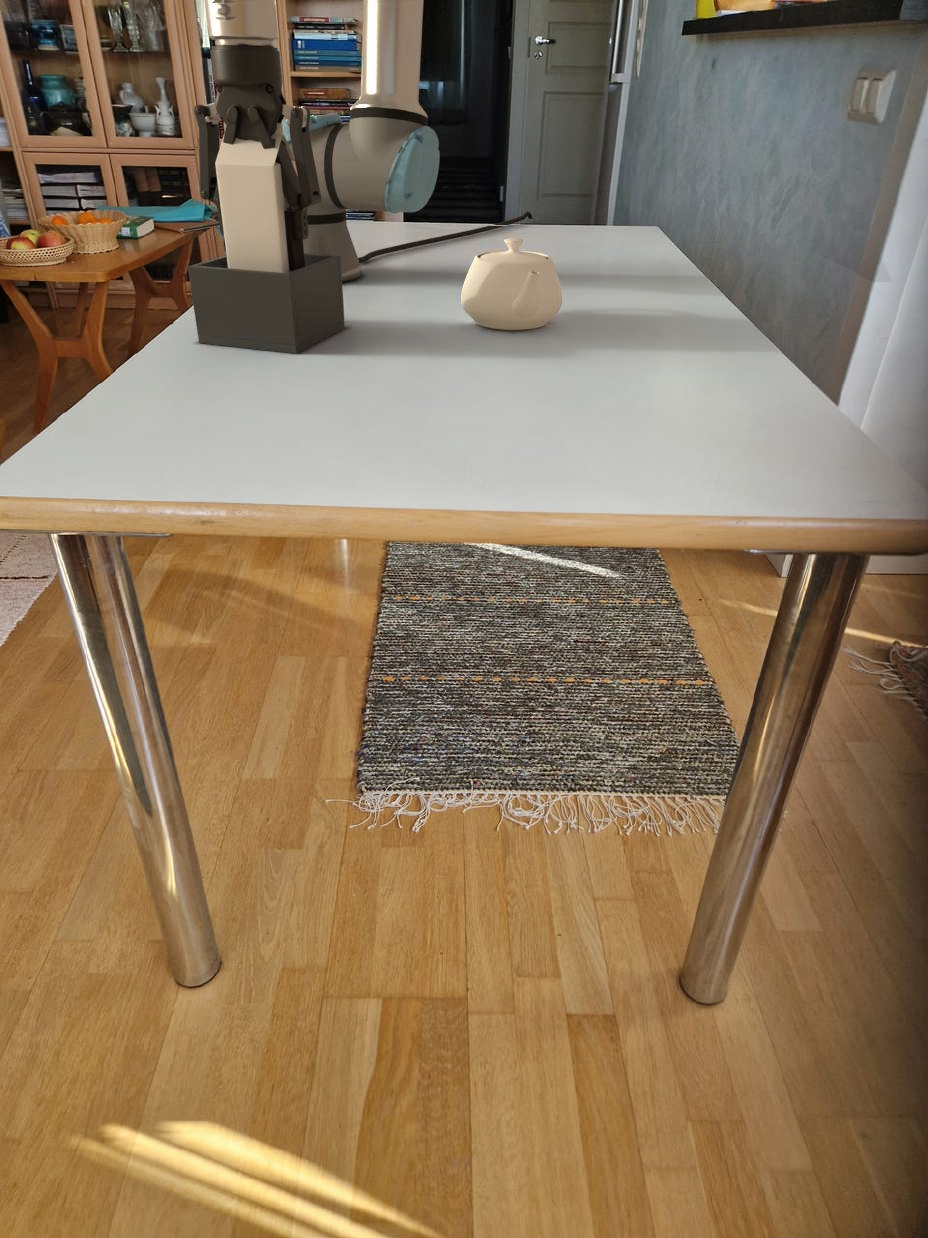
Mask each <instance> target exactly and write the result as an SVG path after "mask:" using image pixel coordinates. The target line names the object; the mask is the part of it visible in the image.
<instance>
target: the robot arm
mask: <svg viewBox="0 0 928 1238" xmlns="http://www.w3.org/2000/svg"><path fill="white" fill-rule="evenodd" d="M204 8H205V14H206V15H205V16H206V23H207V24H206V25H207V32H208V37H209V38H210V39H211V40H212V41H213V40H214V44H215V45H212V46H211V49H209V50H210V59H211V60H210V61H211V68H212V76H213V83H214V84H215V86H216V96H215V100H214V102H212V103H208V104H195V105H194V107H193V114H194V116H195V120H196V123H197V127H198V155H199V156H198V158H199V160H198V161H199V164H198V165H199V195H200V198H201V199H202V200H205V201H209V202H211V203H213V204H214V205H215V207H216V211H217V217H218V218H217V219H218V225H219V226H218V227H219V231H220V234H221V235H222V236H224V229H223V221H222V213H221V205H220V197H219V189H218V181H217V173H216V165H215V162H216V159H217V156H218V153H219V149H220V126H219V125H220V124H219V123H220V122H221V120H222V122H223V123H224V122H225V124H226V129H225V131H224V133H225V134H224V133H223V136H224V139H223V138H222V139H223V143H227V144H231V145H232V144H233V143H234V142H235V140H236V138H238V139H241V140H249V139H251V140H253V141H256V142H261V144H262V146H263V148H264V149H268V148H275V142H276V139H272V138H271V137H272V136H273V135H274V133H275V131H276V129H277V123H282V125H283V134H284V136H285V138H286V141H287V143H288V145H289V147H290V149H291V151H292V153H293V155H294V159H295V164H296V169H297V174H296V171H295V169H294V166H293V164H292V161H291V159H290V156H289V154H288V151H287V149H286V143H285V142H284V141H283V140H281V143H280V146H279V150H278V153H277V157H276V160H275V162H276V163H279V164H280V166H281V177H282V189H283V192H284V194H285V197H286V199H287V202H288V204H289V208H287V209H288V211H284V217H285V228H286V240H287V251H288V262H289V270H292V271H294V270H297V269H300V268H303V267H305V260H304V253H309V254H322V255H335V256H341V272H342V283H344V282H349V281H353V280H356V279H358V278H359V277H360V276H361V264H364V263H366V262H368V261H370V260H371V259H373V258H375V257H379V256H383V255H386V254H390V253H395V252H399V251H404V250H408V249H413V248H417V247H420V246H426V245H432V244H435V243H440V242H445V241H449V240H454V239H459V238H463V237H469V236H473V235H477V234H481V233H486V232H489V231H493V230H496V229H500V228H503V227H504V226H490V225H486V226H482V227H477V228H473V229H469V230H465V231H464V230H463V231H459V232H455V233H449V234H443V235H440V236H439V235H438V236H435V237H430V238H426V239H425V238H424V239H420V240H416V241H411V242H407V243H406V242H405V243H402V244H397V245H393V246H389V247H383V248H380V249H377V250H372V251H371V252H368V253H366V254H365V255H363V256H360V257H358V254H357V251H356V248H355V245H354V243H353V239H352V236H351V235H350V231H349V228H348V223H347V210H355V211H368V212H369V211H370V212H385V213H390V214H394V215H395V214H398V213H416V212H418V211H420V210H422V209H423V208H424V207H425V206H426V205H427V204H428V202H429V200H430V199H431V197H432V195H433V193H434V190H435V187H436V184H437V179H438V174H439V168H440V159H441V157H440V156H441V155H440V150H439V146H440V142H439V138H438V135H437V133H436V131H435V130H434V129H433V128H431V127H430V126H428V121H429V119H428V114H427V112H426V111H425V109H423V107H422V105H420V102H419V99H420V98H419V96H420V77H421V59H422V57H421V55H422V38H423V18H424V17H423V15H424V0H363V7H362V8H363V9H362V11H363V13H362V42H361V43H362V44H361V45H362V47H361V79H360V81H361V82H360V96H359V99H358V100H357V101H355V102H354V103H353V105H352V106H351V107H350V109H349V124H343V120H342V118H341V115H340V114H338V113H327V114H319V115H311V110H310V109H309V107H307V106H295V105H292V104H288V103H287V101H286V99H285V97H284V94H283V69H282V58H281V57H282V56H281V51H280V50H279V48H278V47H275V42H278V40H280V32H279V31H280V30H279V24H278V23H279V22H278V12H277V11H278V10H277V2H276V0H204ZM284 118H285V119H284ZM532 215H533V214H532V213H531V212H530V211H525V212H524V213H523V214H521V215H520V216H518V217H514V218H511V219H508V220H505V221H500V222H498V223H493V224H492V225H507V226H510V225H512V224H516V223H518V222H521V221H524V220H525V219H526V218H528V220H533V218H534V217H533V216H532Z"/></svg>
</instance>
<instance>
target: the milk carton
mask: <svg viewBox="0 0 928 1238" xmlns="http://www.w3.org/2000/svg"><path fill="white" fill-rule="evenodd" d="M223 129H224V131H223V132H224V133H223V136H222V140H221V143H220V145H219V153H218V156H217V159H216V162H215V165H216V173H217V181H218V189H219V197H220V205H221V213H222V221H223V229H224V235H223V236H224V243H225V244H224V245H225V252H226V254H225V255H227V262H228V268H230V269H242V270H254V271H267V272H279V273H289V272H292V270H289V262H288V251H287V240H286V228H285V217H284V211H288V209H287V208H289V204H288V202H287V199H286V197H285V194H284V192H283V189H282V177H281V166H280V164H279V163H276V162H275V160H276V157H277V153H278V150H279V146H280V143H281V140H283V141H284V142H285V143H286V149H287V151H288V154H289V156H290V159H291V161H292V164H293V166H294V169H295V171H296V174H297V169H296V164H295V159H294V155H293V153H292V151H291V149H290V147H289V145H288V143H287V141H286V138H285V136H284V134H283V125H282V123H277V129H276V131H275V133H274V135H273V136H272V137H271V138H272V139H276V142H275V148H268V149H264V148H263V146H262V144H261V142H256V141H253V140H251V139H249V140H241V139H238V138H236V140H235V142H234V143H233V144H232V145H231V144H227V143H223V139H224V134H225V129H226V124H225V122H224V121H223Z"/></svg>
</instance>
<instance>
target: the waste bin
mask: <svg viewBox="0 0 928 1238" xmlns="http://www.w3.org/2000/svg"><path fill="white" fill-rule="evenodd" d="M304 260H305V267H303V268H300V269H297V270H294V271H292V272H289V273H279V272H267V271H254V270H242V269H230V268H228V262H227V254H224V255H222V256H218V257H214V258H211V259H208V260H205V261H202V262H198V263H194V264H191V265H188V266H187V271H188V277H189V278H188V279H189V284H190V286H189V287H190V290H191V291H190V292H191V299H192V305H193V312H194V318H195V325H196V333H197V339H198V343H199V344H205V345H214V346H222V347H231V348H241V349H248V350H249V349H250V350H257V351H259V350H261V351H268V352H277V353H286V354H295V355H296V354H299V353H301V352H303V351H304V350H306V349H308V348H310V347H312V346H314V345H315V344H318V343H320V342H321V341H323V340H325V339H327V338H329V337H331V336H332V335H334V334H336V333H338V332H341V331H342V330H344V329H346V325H345V324H346V322H345V308H344V305H345V304H344V291H343V290H344V289H343V288H344V287H343V282H342V272H341V256H335V255H322V254H309V253H304Z"/></svg>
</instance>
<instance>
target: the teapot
mask: <svg viewBox="0 0 928 1238" xmlns="http://www.w3.org/2000/svg"><path fill="white" fill-rule="evenodd" d="M504 243H505V244H506V246H507V248H508V250H507V249H506V250H504V249H503V250H490V251H483V252H480V253H478V254H476V255H475V256H474V259H473V260H472V263H471V265H470V266H469V269H468V270H467V271H468V272H467V274H466V276H465V279H464V282H463V285H462V288H461V289H462V290H461V294H460V296H461V297H460V302H461V306H462V308H463V310H464V312H465V313H466V314H467V315H468V316H469V317H470V319H472V320H473V322H474V323H475V324H477V325H480V326H481V327H485V328H489V329H494V330H495V329H496V330H502V331H503V330H506V331H522V330H523V331H524V330H532V329H537V328H541V327H544V326H545V325H547V324H548V323H549V322H550V321H551V320H552V319H553V318H555V316H556V315H557V314H558V313H559V312H560V311H561V308H562V305H563V292H562V286H561V282H560V279H559V276H558V272H557V270H556V267H555V264H554V262H553V258H552V257H551V256H549V255H548V254H545V253H541V252H538V251H537V252H536V251H530V250H519V247H520V246H522V244H523V243H524V239H523V238H520V237H507V238H505V239H504Z"/></svg>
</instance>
